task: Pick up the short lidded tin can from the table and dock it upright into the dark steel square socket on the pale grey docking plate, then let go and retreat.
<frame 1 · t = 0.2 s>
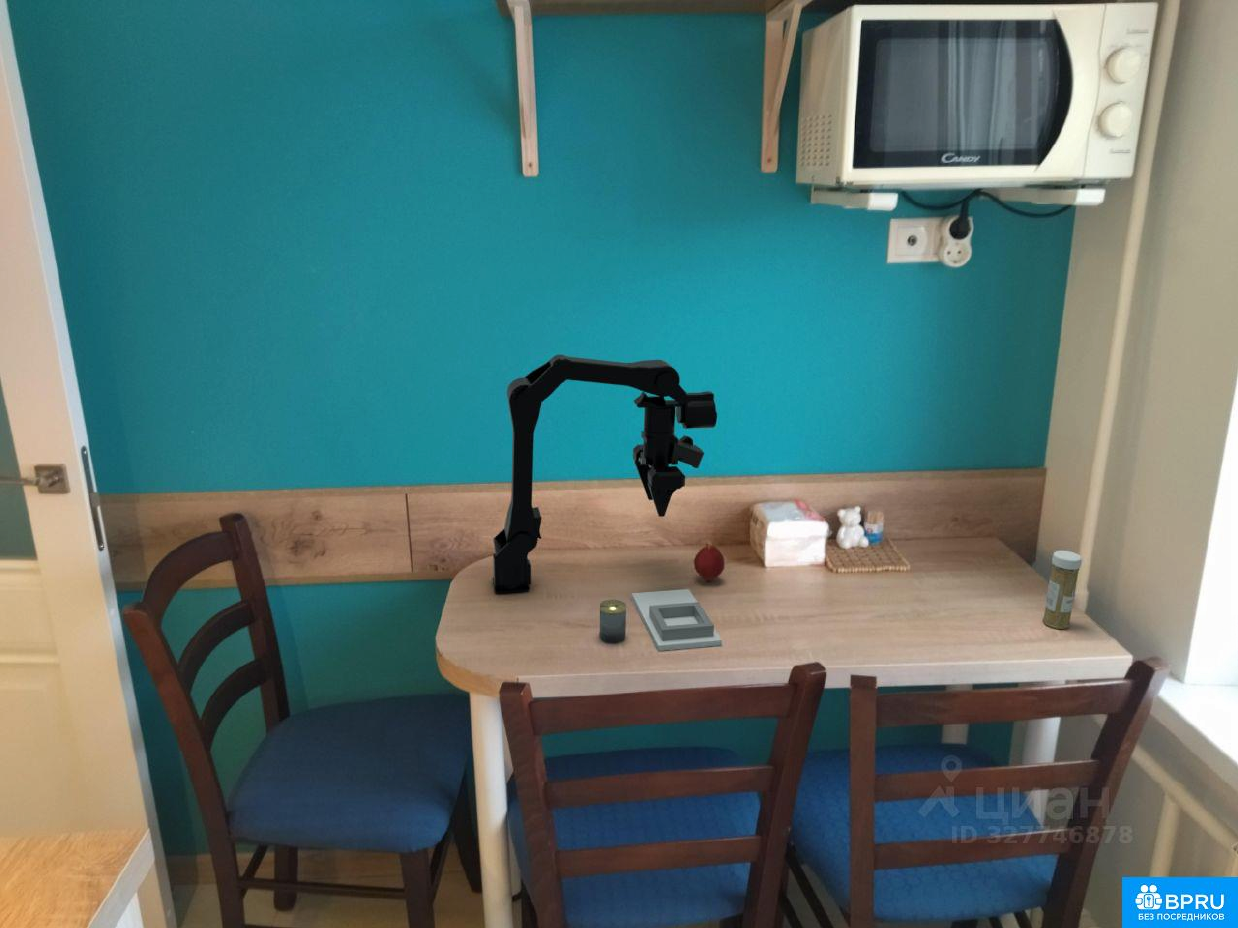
hand: (656, 507, 176), 14 cm above the table, fingers open, 9 cm apart
lidded tin can: (612, 637, 157), on the table
onion: (708, 581, 180), on the table
sprinkles bottle: (1055, 624, 165), on the table
dock: (674, 620, 163), on the table
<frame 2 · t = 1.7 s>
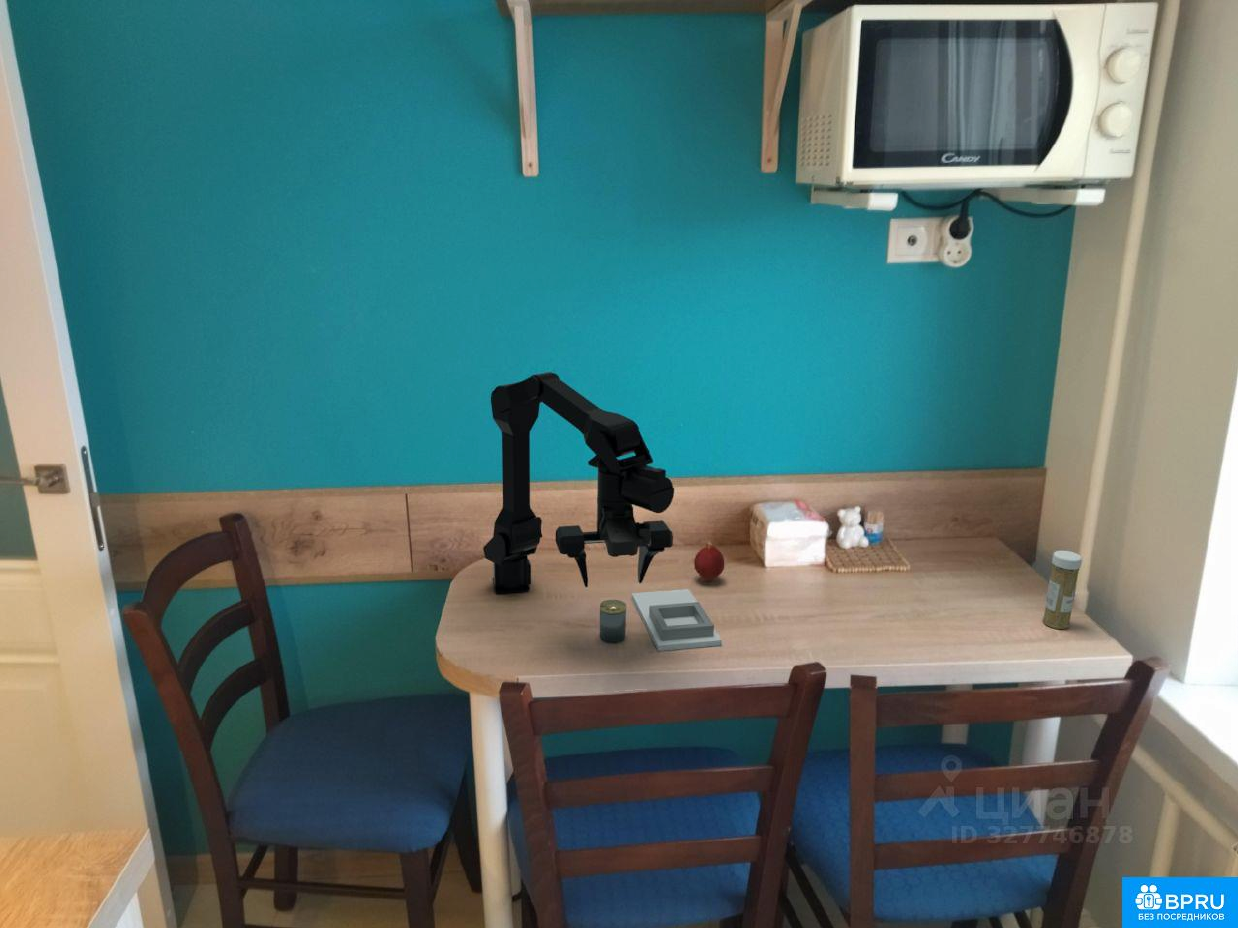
hand: (613, 584, 154), 10 cm above the table, fingers open, 9 cm apart
nothing on the table moved.
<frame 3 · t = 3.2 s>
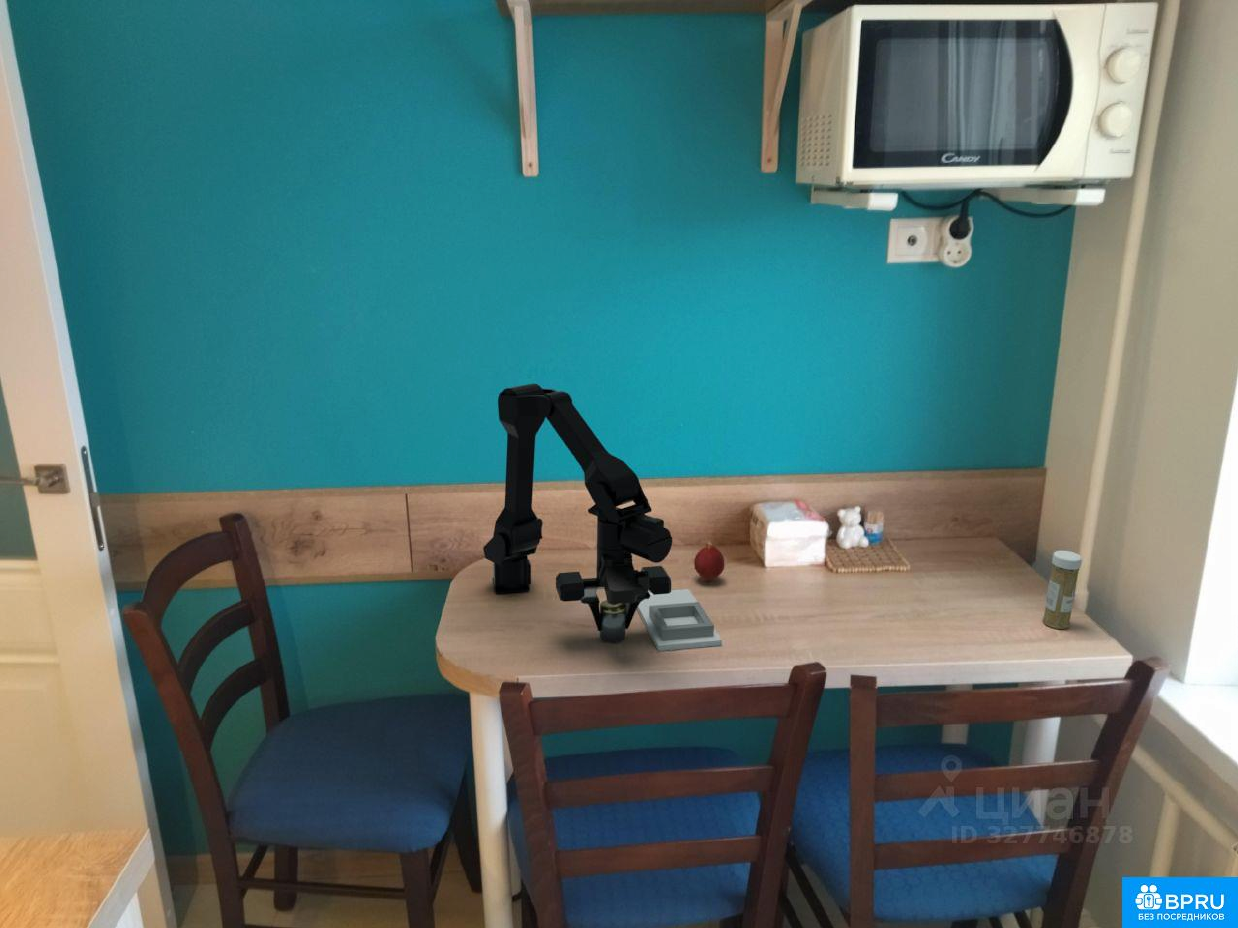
hand: (612, 628, 157), 2 cm above the table, fingers closed on lidded tin can, 4 cm apart
lidded tin can: (612, 637, 157), on the table, touching gripper
everything else where it was.
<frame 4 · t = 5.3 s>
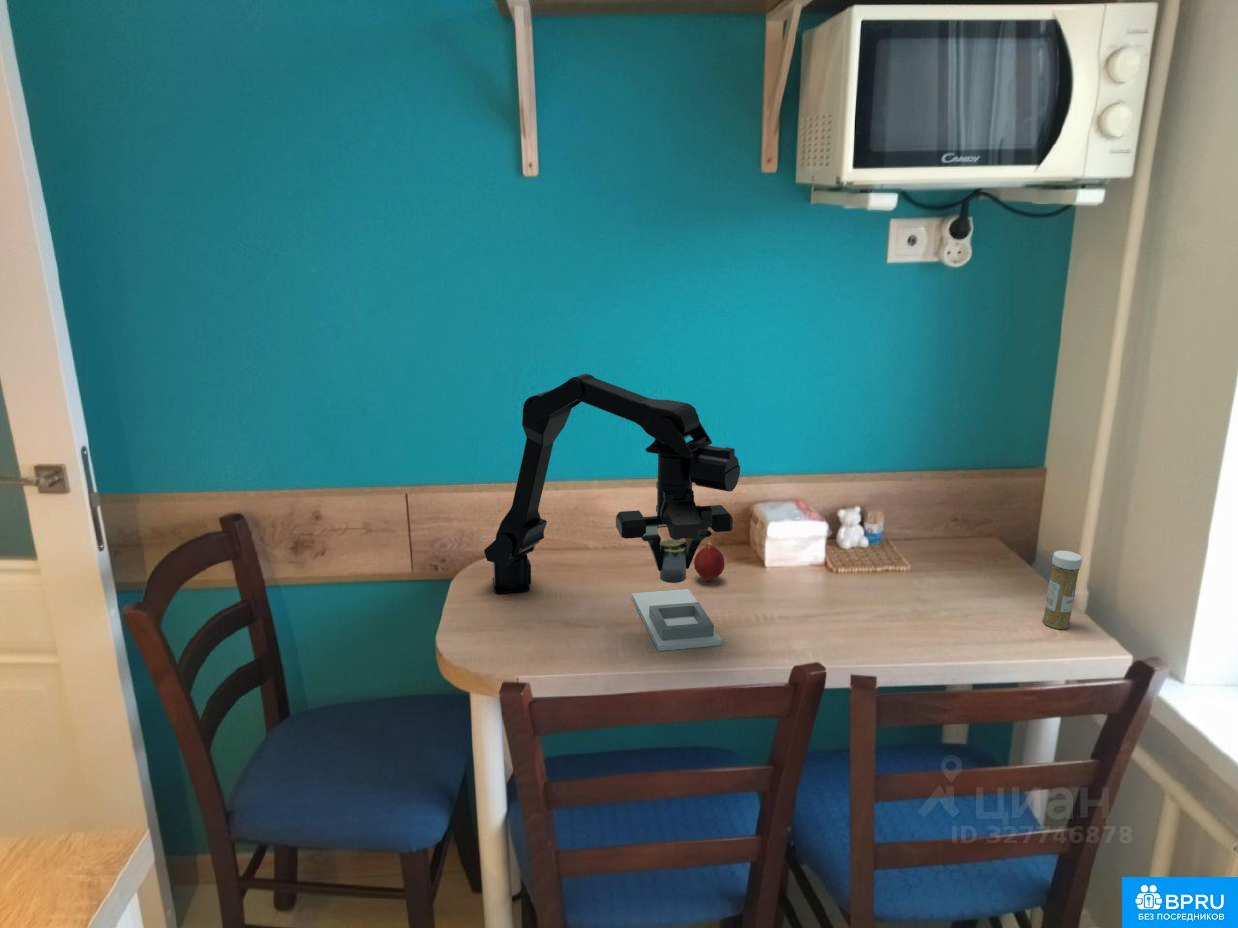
hand: (673, 568, 155), 12 cm above the table, fingers closed on lidded tin can, 4 cm apart
lidded tin can: (672, 577, 156), point 11 cm above the table, touching gripper
everything else where it was.
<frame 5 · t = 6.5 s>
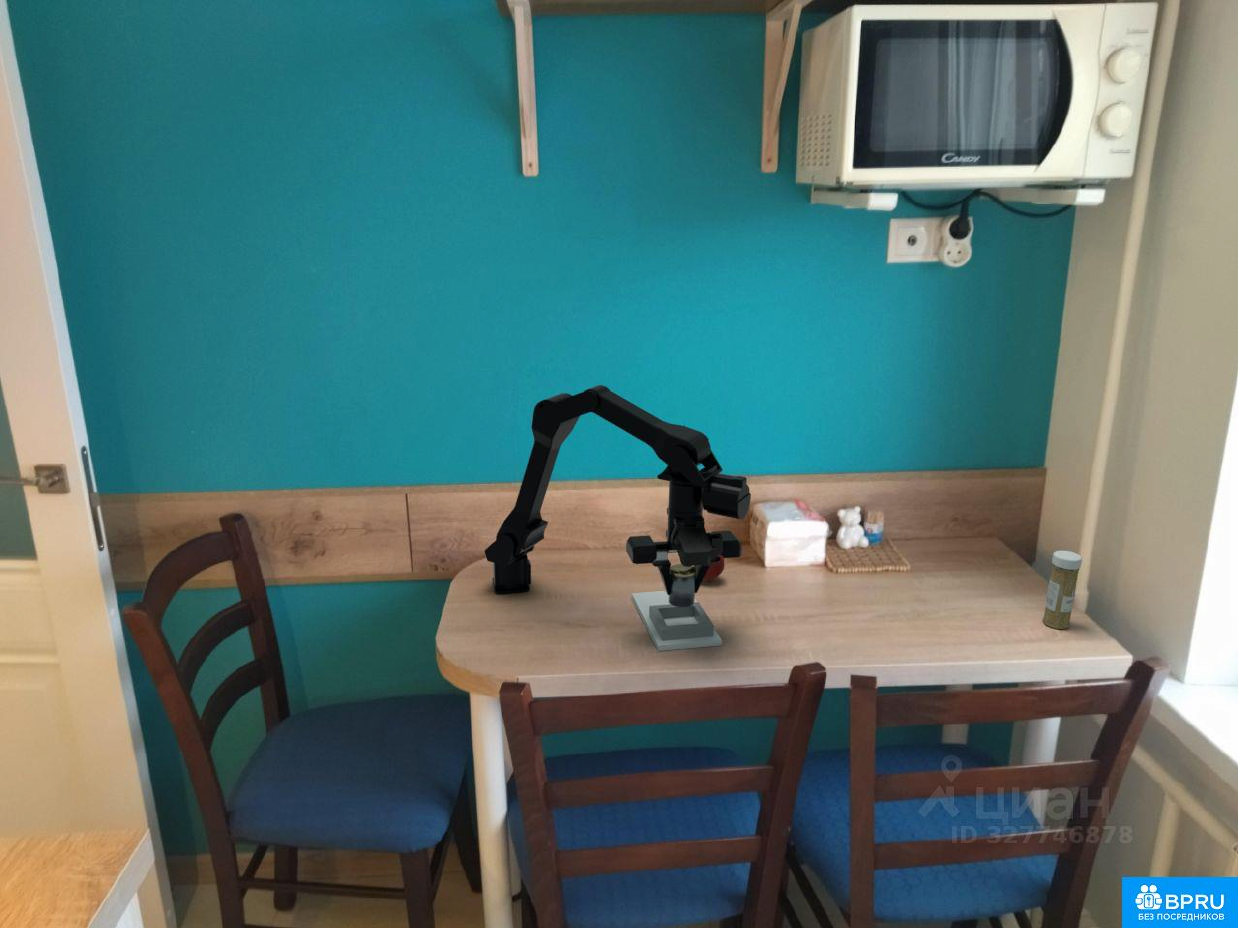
hand: (681, 593, 157), 7 cm above the table, fingers closed on lidded tin can, 4 cm apart
lidded tin can: (681, 601, 158), point 6 cm above the table, touching gripper
everything else where it was.
when the fingers open (4 cm above the table, at t = 7.6 s): lidded tin can drops 1 cm, resting on dock.
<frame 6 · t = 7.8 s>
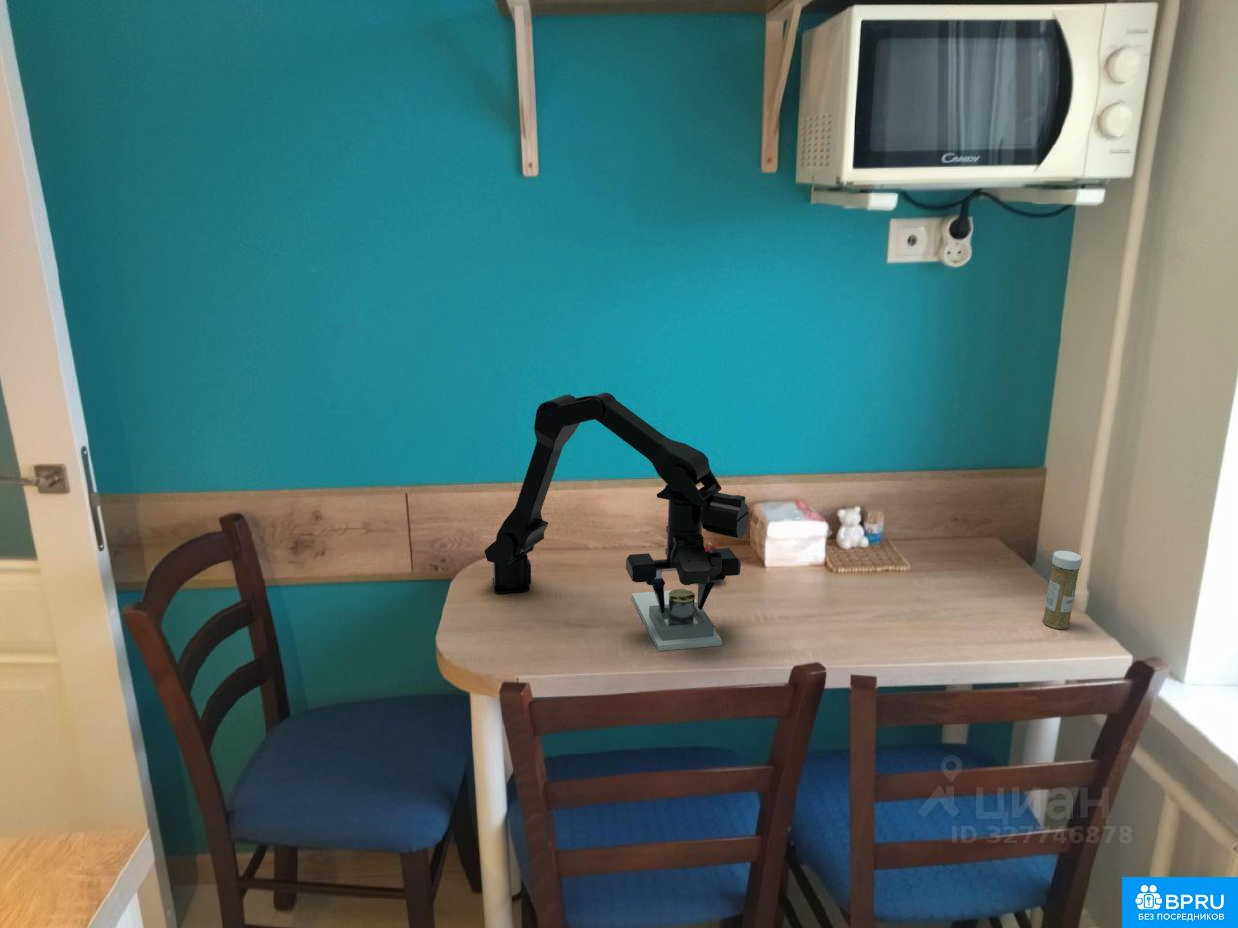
hand: (681, 610, 158), 4 cm above the table, fingers open, 6 cm apart
lidded tin can: (680, 626, 159), point 1 cm above the table, touching dock
everything else where it was.
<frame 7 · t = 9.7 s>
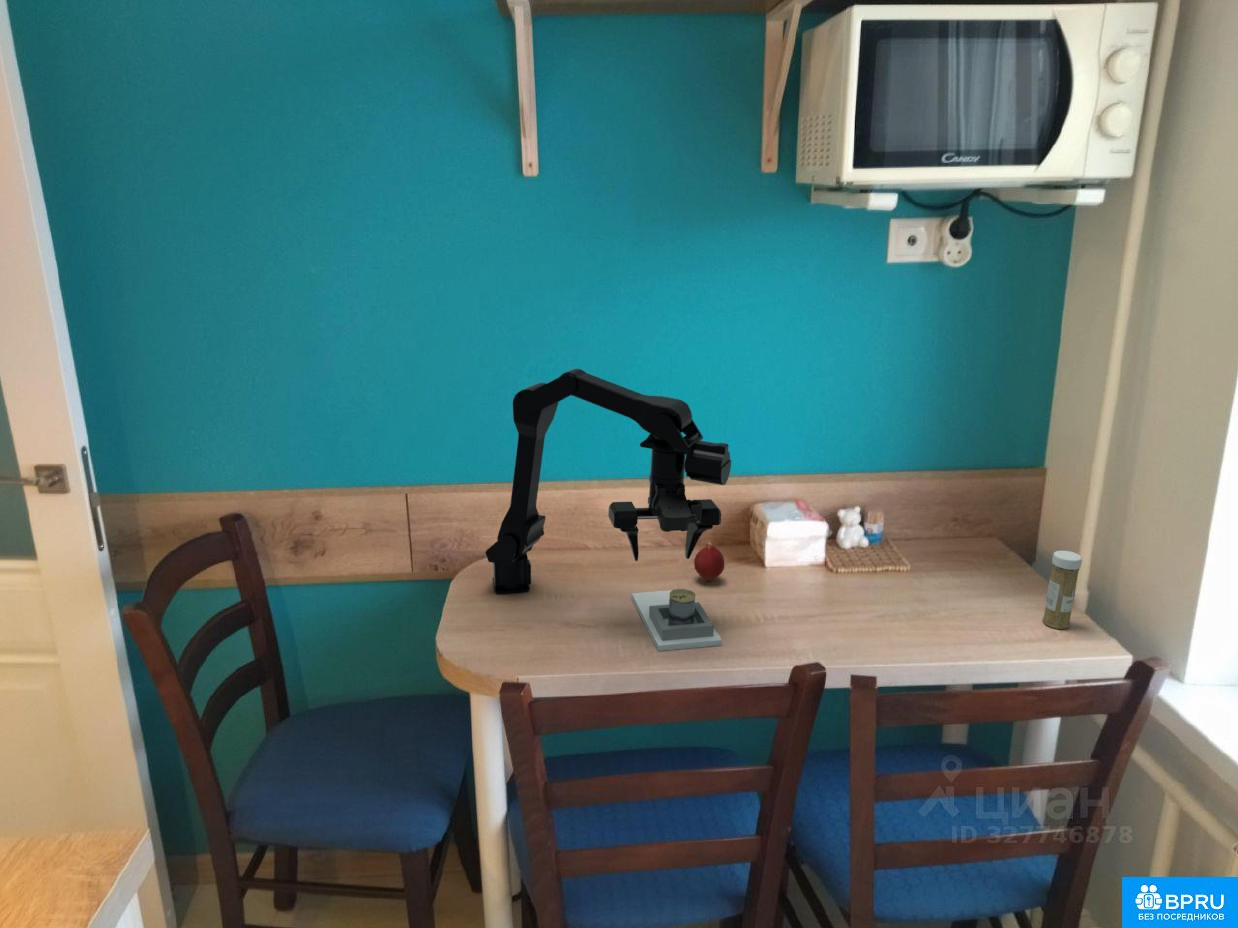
hand: (661, 559, 161), 11 cm above the table, fingers open, 9 cm apart
nothing on the table moved.
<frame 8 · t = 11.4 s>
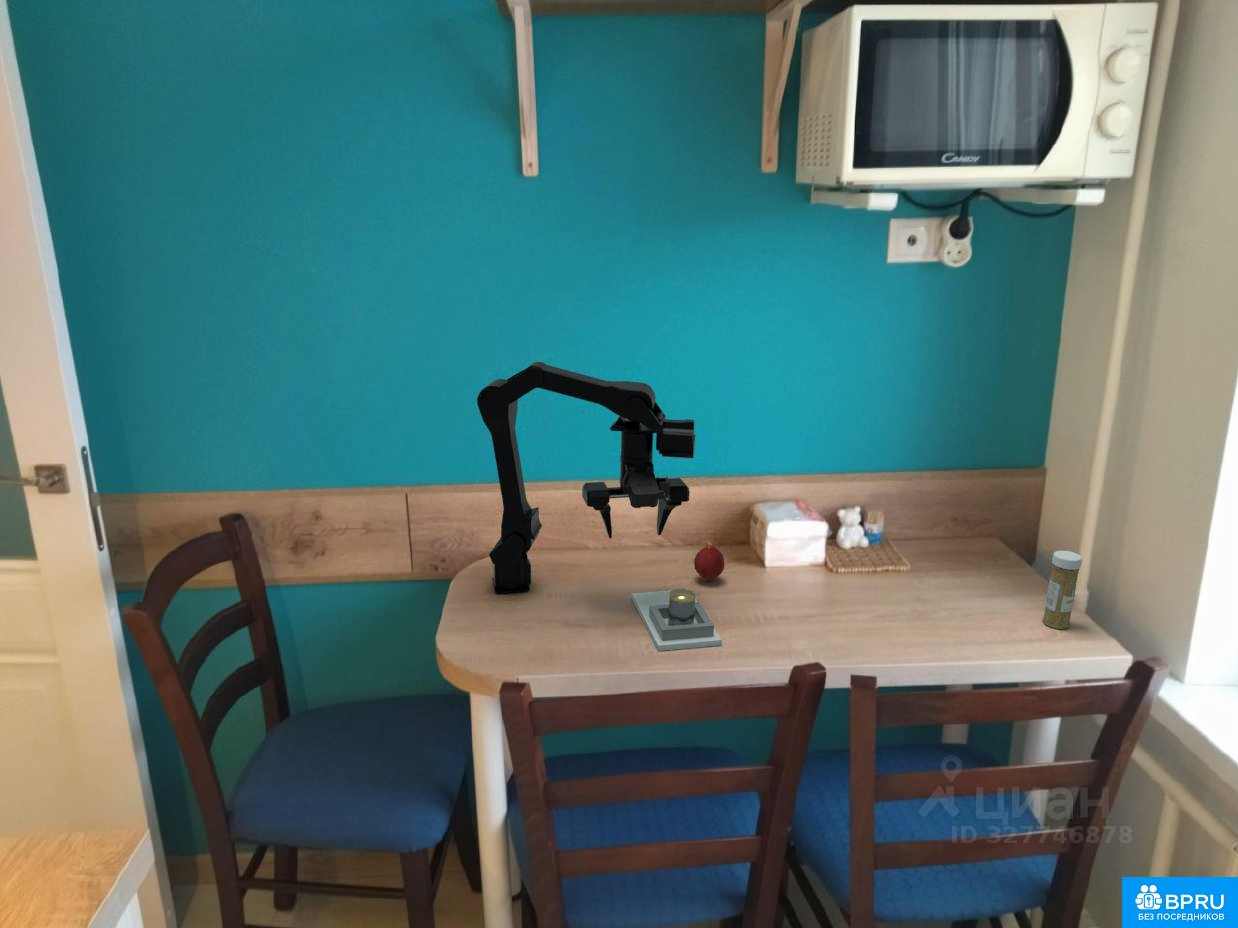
hand: (634, 536, 169), 12 cm above the table, fingers open, 9 cm apart
nothing on the table moved.
at the end: lidded tin can 0.0 cm from the target spot on the dock, point 1.1 cm above the dock's base; lidded tin can tilted 1°; the gripper is holding nothing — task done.
